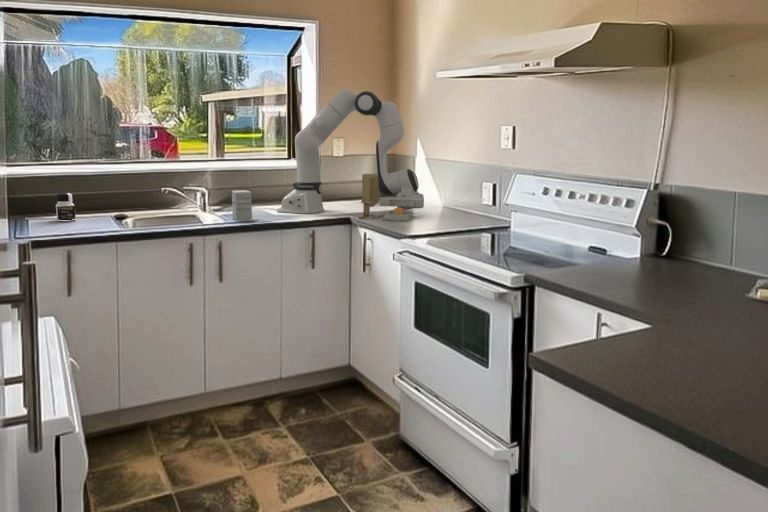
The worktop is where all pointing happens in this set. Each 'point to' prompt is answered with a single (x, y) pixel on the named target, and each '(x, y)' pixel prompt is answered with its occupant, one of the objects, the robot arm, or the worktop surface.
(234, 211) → the supplement box
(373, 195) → the khaki rectangular block
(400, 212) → the ball
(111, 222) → the worktop surface
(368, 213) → the tee
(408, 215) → the tray
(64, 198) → the medicine bottle
